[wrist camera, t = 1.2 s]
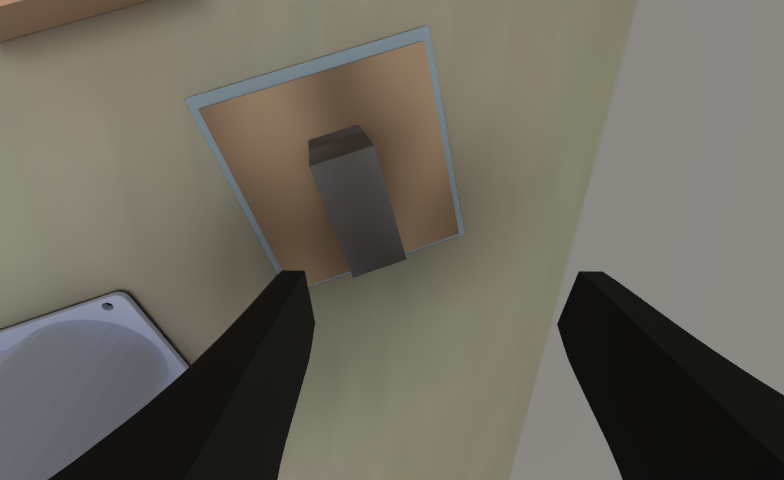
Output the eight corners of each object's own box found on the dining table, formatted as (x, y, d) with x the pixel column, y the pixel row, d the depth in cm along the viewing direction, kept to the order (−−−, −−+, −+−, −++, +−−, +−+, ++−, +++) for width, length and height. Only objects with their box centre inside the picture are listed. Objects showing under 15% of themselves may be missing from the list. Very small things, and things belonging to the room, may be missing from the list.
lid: (293, 285, 20) (289, 348, 16) (201, 107, 15) (159, 128, 11) (455, 229, 21) (495, 275, 16) (420, 41, 16) (464, 35, 11)
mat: (288, 289, 21) (288, 294, 20) (187, 97, 15) (184, 98, 15) (461, 230, 21) (464, 233, 21) (425, 26, 16) (428, 25, 15)
